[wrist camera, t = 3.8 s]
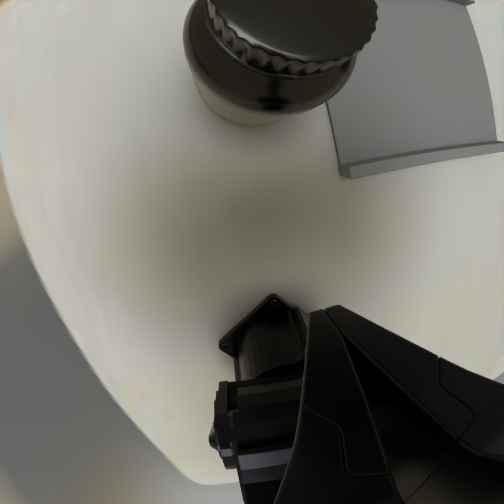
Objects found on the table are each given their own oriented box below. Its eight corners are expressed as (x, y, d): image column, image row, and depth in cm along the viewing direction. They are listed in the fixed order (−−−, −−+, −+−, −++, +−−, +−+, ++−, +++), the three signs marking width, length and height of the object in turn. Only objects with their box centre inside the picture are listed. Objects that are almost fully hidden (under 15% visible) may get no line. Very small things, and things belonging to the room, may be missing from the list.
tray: (340, 175, 19) (351, 179, 18) (286, -24, 13) (292, -35, 12) (495, 148, 19) (508, 150, 18) (460, -1, 13) (472, -5, 12)
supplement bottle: (317, 107, 17) (439, 85, 6) (220, 141, 18) (221, 147, 7) (280, 19, 15) (349, -84, 4) (181, 50, 15) (136, -51, 4)
